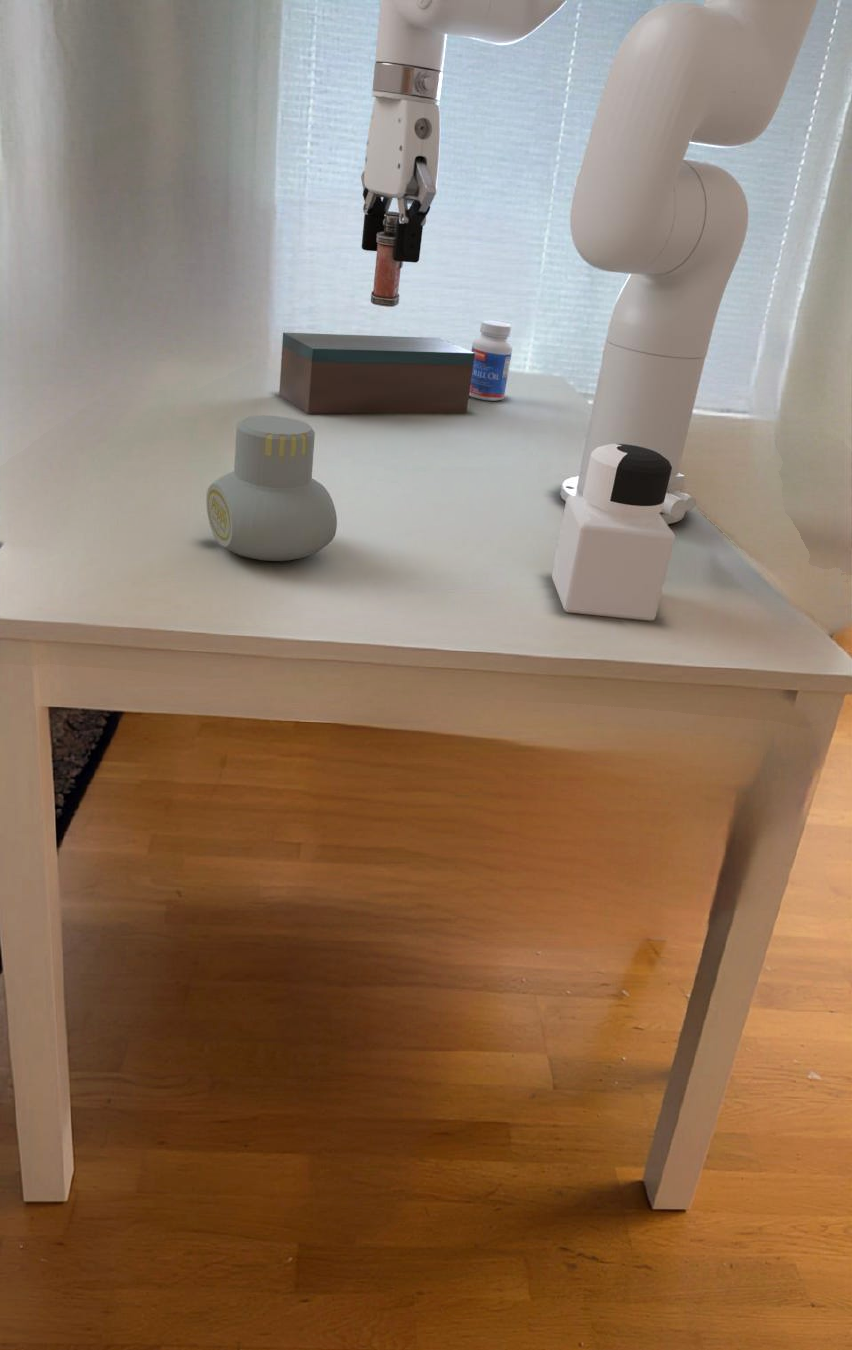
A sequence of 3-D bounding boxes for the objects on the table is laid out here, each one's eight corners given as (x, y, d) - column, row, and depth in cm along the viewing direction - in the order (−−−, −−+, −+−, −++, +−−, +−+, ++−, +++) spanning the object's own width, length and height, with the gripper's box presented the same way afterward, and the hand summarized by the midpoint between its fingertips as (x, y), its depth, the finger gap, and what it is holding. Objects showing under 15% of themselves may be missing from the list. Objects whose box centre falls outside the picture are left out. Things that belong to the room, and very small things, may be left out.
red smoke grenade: (397, 308, 125) (406, 216, 120) (368, 304, 125) (377, 212, 120) (400, 299, 132) (409, 212, 128) (372, 295, 132) (381, 208, 127)
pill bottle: (460, 396, 144) (470, 321, 140) (470, 389, 149) (480, 317, 145) (499, 403, 143) (511, 329, 139) (508, 397, 148) (519, 324, 144)
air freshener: (342, 572, 82) (354, 445, 78) (237, 578, 79) (244, 445, 74) (295, 524, 91) (303, 407, 86) (199, 527, 87) (202, 405, 83)
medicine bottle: (635, 587, 87) (668, 443, 82) (655, 622, 81) (692, 469, 76) (550, 578, 87) (578, 432, 81) (563, 613, 80) (594, 458, 75)
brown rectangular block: (466, 413, 136) (475, 353, 133) (308, 414, 125) (312, 348, 122) (432, 395, 143) (439, 338, 139) (279, 394, 132) (282, 332, 129)
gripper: (476, 95, 113) (453, 270, 121) (400, 89, 127) (384, 247, 134) (414, 84, 110) (395, 266, 118) (343, 79, 123) (330, 243, 131)
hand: (389, 255), depth 126 cm, fingers closed on red smoke grenade, 7 cm apart
